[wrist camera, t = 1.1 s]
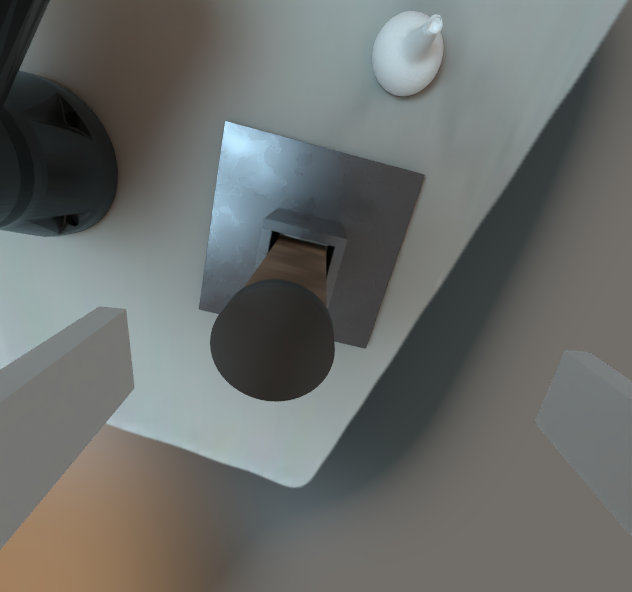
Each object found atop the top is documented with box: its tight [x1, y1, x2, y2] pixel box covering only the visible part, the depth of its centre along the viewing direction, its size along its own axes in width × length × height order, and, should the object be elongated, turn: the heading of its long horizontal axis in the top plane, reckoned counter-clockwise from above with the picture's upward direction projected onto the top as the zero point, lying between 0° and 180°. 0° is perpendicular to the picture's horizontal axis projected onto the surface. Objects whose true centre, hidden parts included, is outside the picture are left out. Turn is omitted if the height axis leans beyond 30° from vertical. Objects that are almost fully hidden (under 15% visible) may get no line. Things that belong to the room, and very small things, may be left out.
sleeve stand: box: [199, 121, 425, 349], centre depth 33 cm, size 20×20×10 cm
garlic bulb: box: [372, 11, 443, 96], centre depth 28 cm, size 6×6×8 cm
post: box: [210, 233, 335, 401], centre depth 25 cm, size 6×6×22 cm
